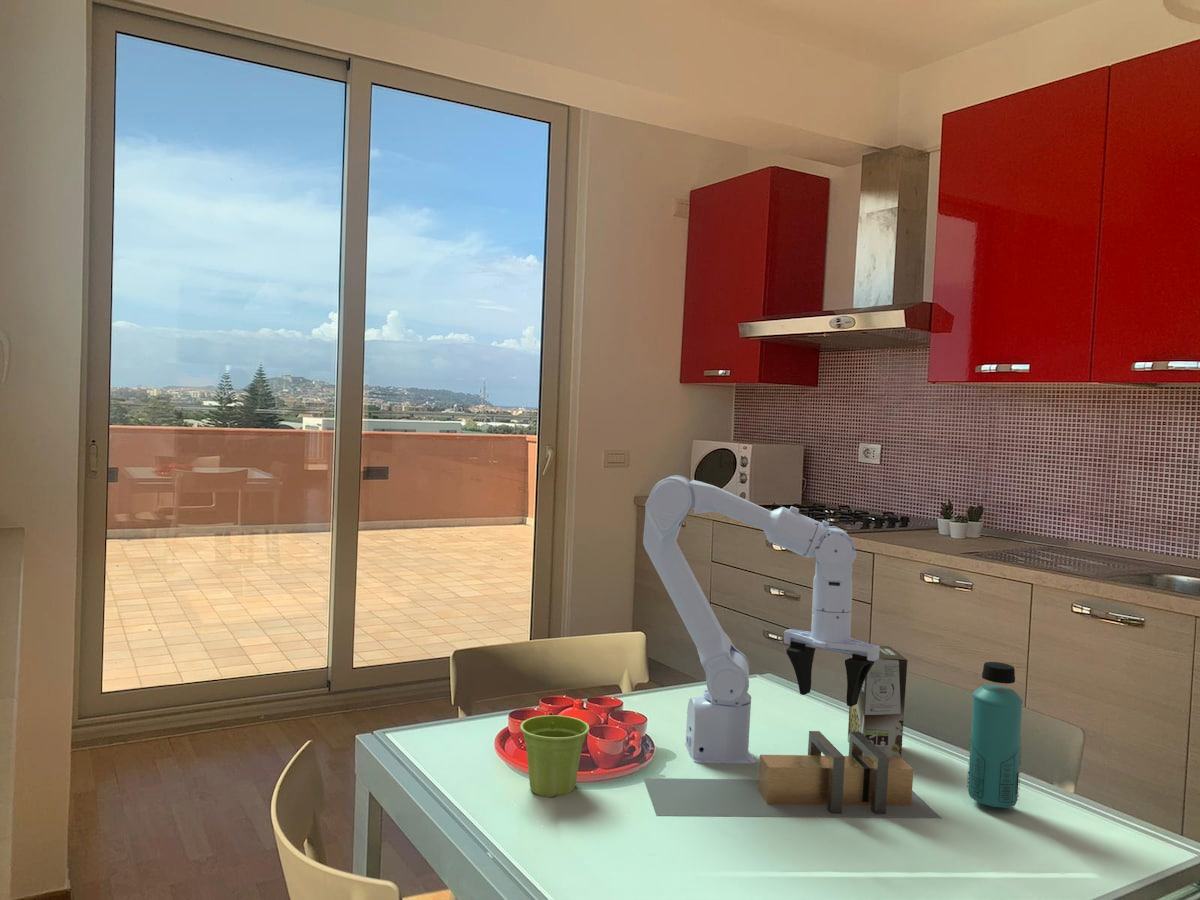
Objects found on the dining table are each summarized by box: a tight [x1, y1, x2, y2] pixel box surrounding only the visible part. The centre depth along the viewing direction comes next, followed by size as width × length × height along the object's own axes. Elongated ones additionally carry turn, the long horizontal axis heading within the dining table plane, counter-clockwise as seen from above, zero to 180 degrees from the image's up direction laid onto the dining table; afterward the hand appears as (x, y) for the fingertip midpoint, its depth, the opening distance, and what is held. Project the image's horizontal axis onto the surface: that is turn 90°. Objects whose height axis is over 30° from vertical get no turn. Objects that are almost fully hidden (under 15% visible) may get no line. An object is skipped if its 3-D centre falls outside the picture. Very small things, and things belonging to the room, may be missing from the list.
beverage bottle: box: [966, 661, 1024, 808], centre depth 122 cm, size 6×7×20 cm
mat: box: [643, 777, 943, 819], centre depth 121 cm, size 38×12×1 cm, turn 95°
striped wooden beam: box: [758, 754, 914, 806], centre depth 122 cm, size 20×5×5 cm, turn 95°
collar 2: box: [848, 732, 889, 814], centre depth 122 cm, size 2×10×8 cm, turn 5°
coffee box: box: [847, 645, 909, 759], centre depth 142 cm, size 9×6×16 cm
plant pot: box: [519, 714, 590, 798], centre depth 121 cm, size 9×9×9 cm
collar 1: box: [807, 730, 845, 814], centre depth 122 cm, size 2×10×8 cm, turn 5°
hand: (828, 699), depth 134 cm, fingers open, 7 cm apart
